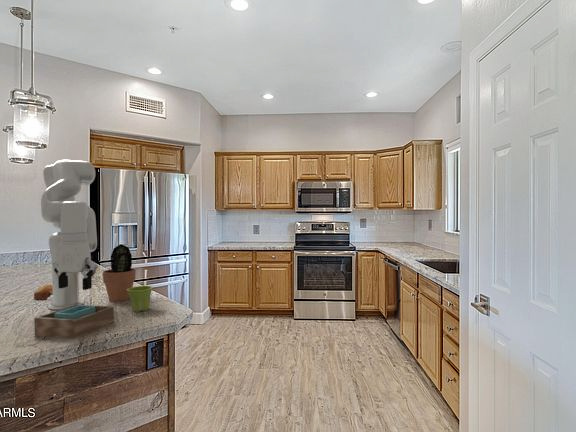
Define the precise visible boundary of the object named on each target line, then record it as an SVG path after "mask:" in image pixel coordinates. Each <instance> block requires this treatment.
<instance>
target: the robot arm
mask: <svg viewBox="0 0 576 432" xmlns="http://www.w3.org/2000/svg"><path fill="white" fill-rule="evenodd" d="M42 171H43V172H42V174H43V175H42V176H43V179H44V180H43V181H44V184H45V186H46V187H45V188H46V189H45V191H44V192H42V195H41V199H40V209H41V216H42V219H43V220H44V221H45V222H47V223H52V224H53V226H54V228H55V229H56V228H57V229H60V231H57V232H55V233H51V235H50V236H49V239H48V246H49V251H50V252H49V253H50V259H51V276H52V277H51V279H52V280H51V281H52V283H51V285H52V288H53V296H50V297H49V298H47V299H46V301H47V302H50V304H48V308H47V309H49V310H53V311H58V310H61V309H64V308H67V307H70V306H73V305H85V304H84V300H82V299H80V274H81V275H82V276H83V277H82V290H83V291H86V290H90V289H92V287H93V285H92V282H93V281H92V277H94V274H96V272H97V268H98V266H99V264H98V263H96V262H95V261H93V260H92V255H91V253H92V252H94V251H95V250H96V249H97V247H98V235H97V234H98V233H97V220H96V218H97V217H96V213H95V211H94V209H93V208H91V207H90V205H88V203H87V202H85V201H81V200H80V201H79V200H76V196H77V195H78V194H79V193H80V192H81V189H82V186H89V185H91V184H92V183H93V182H94V181H95V178H96V169H95V166H94V165H93V163H91V162H89V161H86V160H85V161H84V160H71V159H61V160H57V161H56V162H55V163H54V164H49V165H46V166H45V167H44V168H43V170H42Z"/></svg>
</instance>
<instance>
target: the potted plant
mask: <svg viewBox="0 0 576 432" xmlns="http://www.w3.org/2000/svg"><path fill="white" fill-rule="evenodd" d="M132 258H133V256H132V253H131V251H130V247H129V246H126V245H124V244H122V243H120V244H118V245H117V246H115V247H113V250H112V252H111V255H110V268H111V269H106V270H103V271H102V282H103V284H105V288H106V293H107V298H108V301H110V302H113V303H115V302H125V301H128V300H130V295H129V293H128V291H127V289H129V288H132V287H134V282H135V280H136V274H137V272H136V271H137V269H136V268H133V267H132V265H133V262H132V261H133V259H132ZM124 300H125V301H124Z"/></svg>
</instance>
